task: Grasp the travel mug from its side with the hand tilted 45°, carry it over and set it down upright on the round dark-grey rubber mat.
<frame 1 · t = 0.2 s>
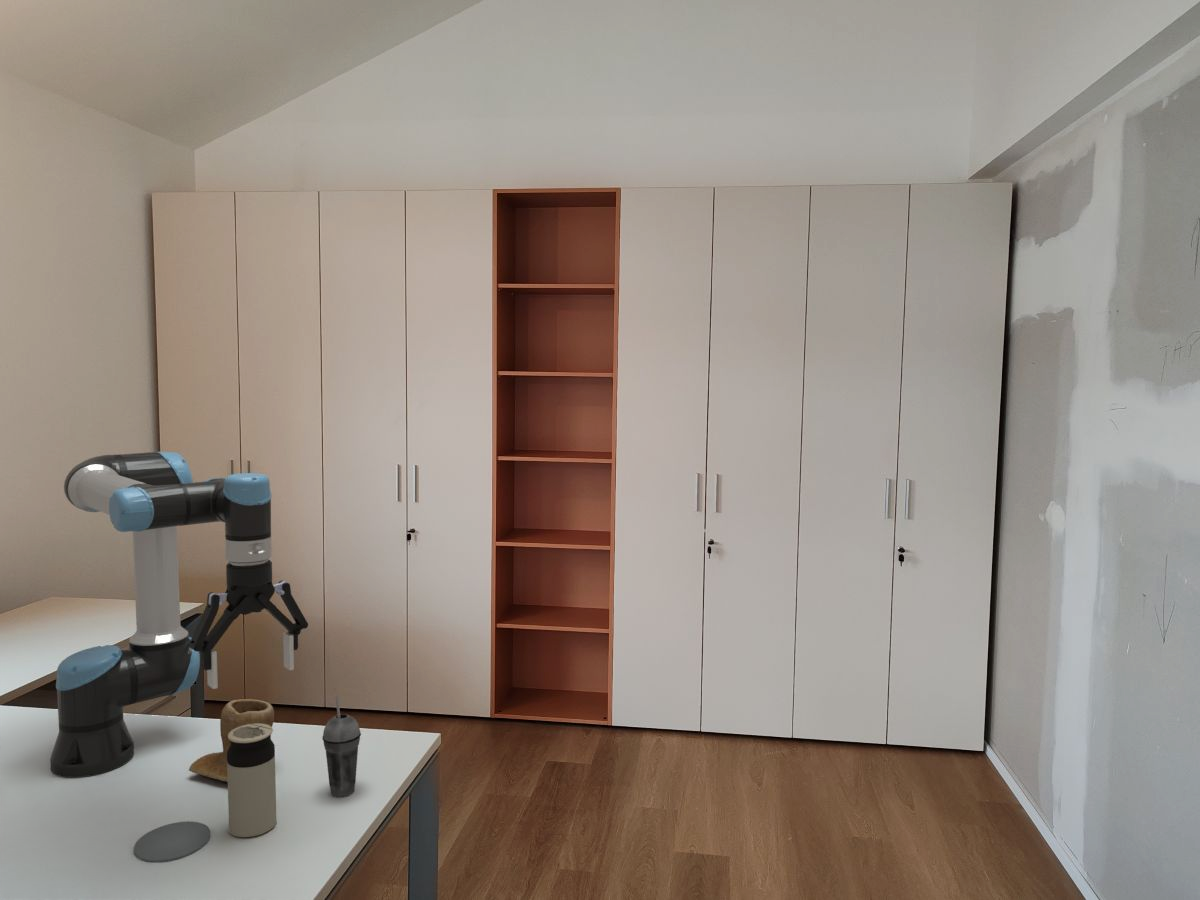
hand: (251, 677, 150), 28 cm above the table, tool pointing down, fingers open, 13 cm apart
beverage cup: (342, 792, 165), on the table
travel mug: (253, 827, 152), on the table
mat: (173, 842, 147), on the table
stone cup: (238, 774, 172), on the table
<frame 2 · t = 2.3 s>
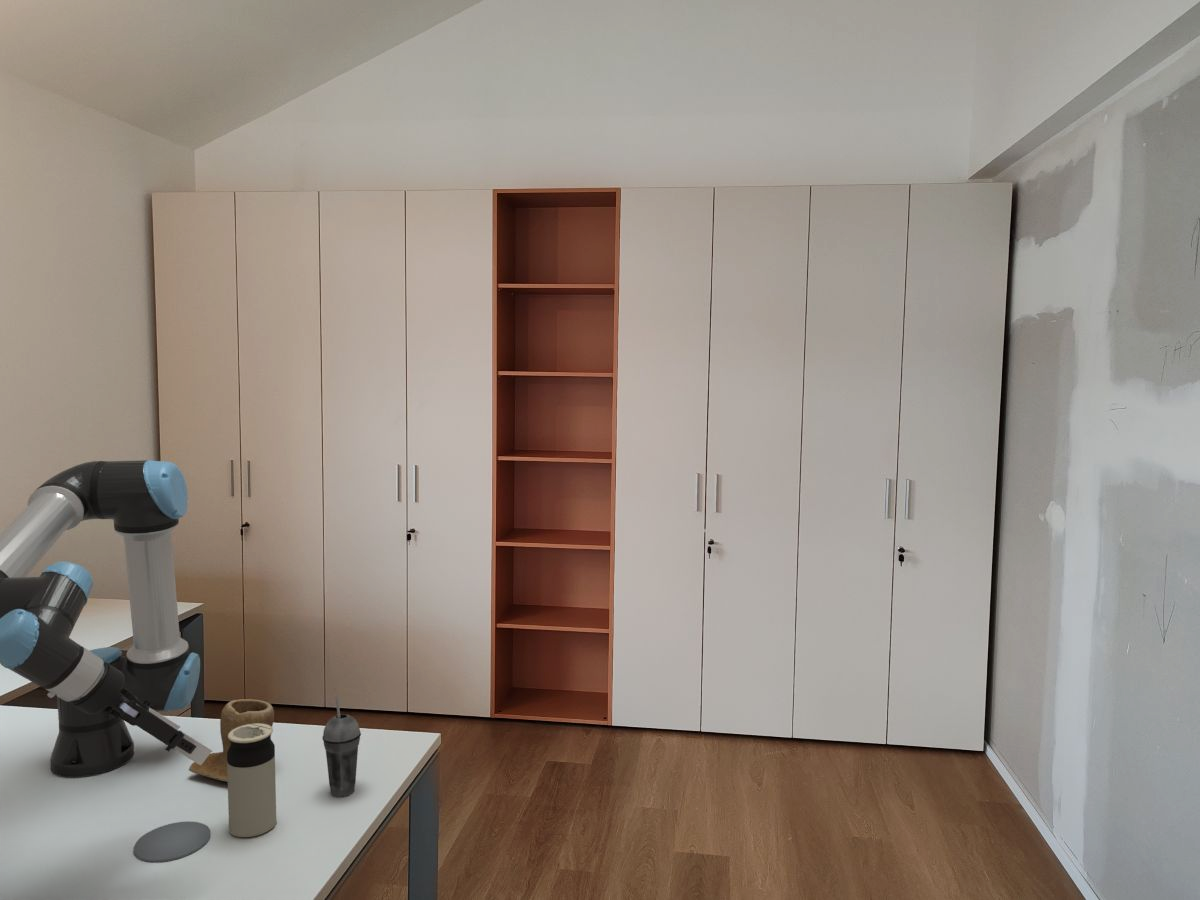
hand: (189, 744, 143), 19 cm above the table, tool tilted 45°, fingers open, 13 cm apart
nothing on the table moved.
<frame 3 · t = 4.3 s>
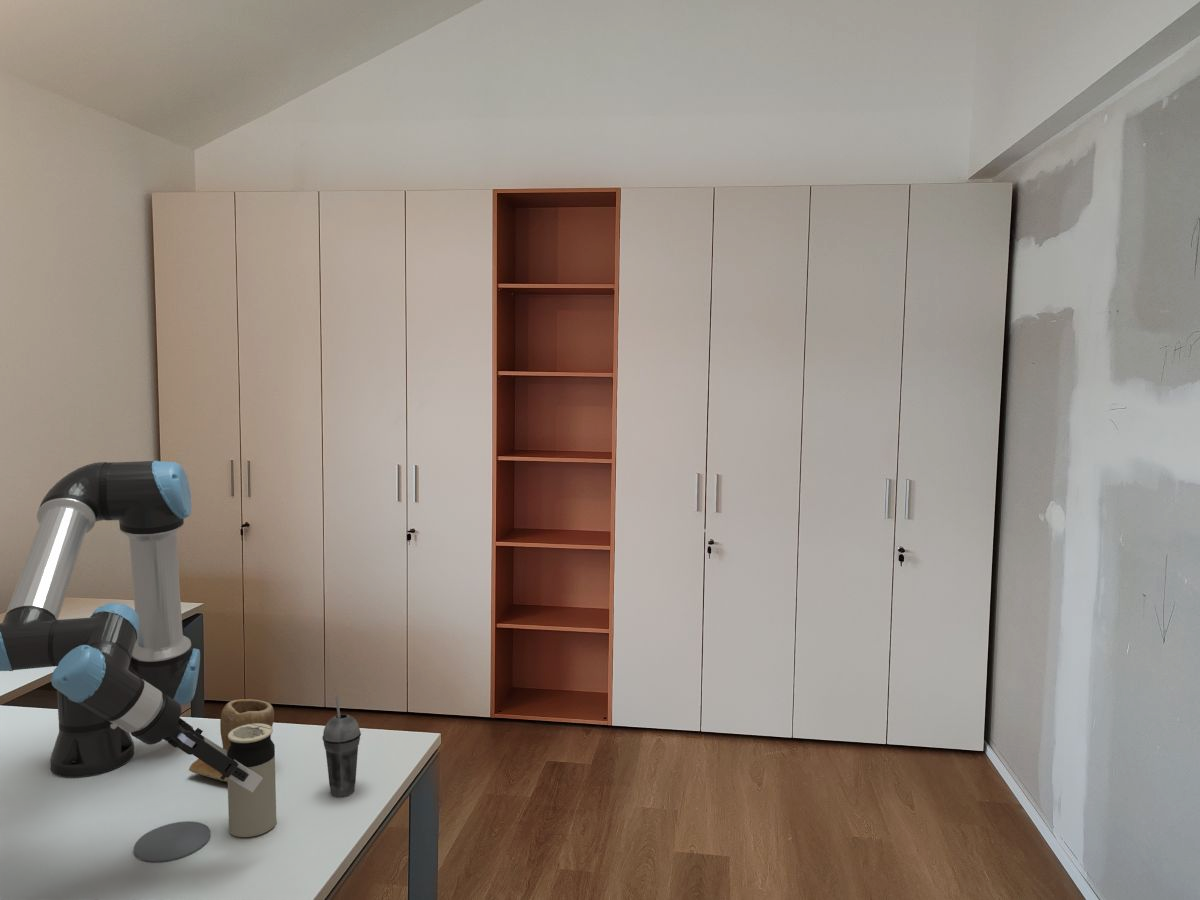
hand: (240, 771, 149), 12 cm above the table, tool tilted 45°, fingers open, 13 cm apart
nothing on the table moved.
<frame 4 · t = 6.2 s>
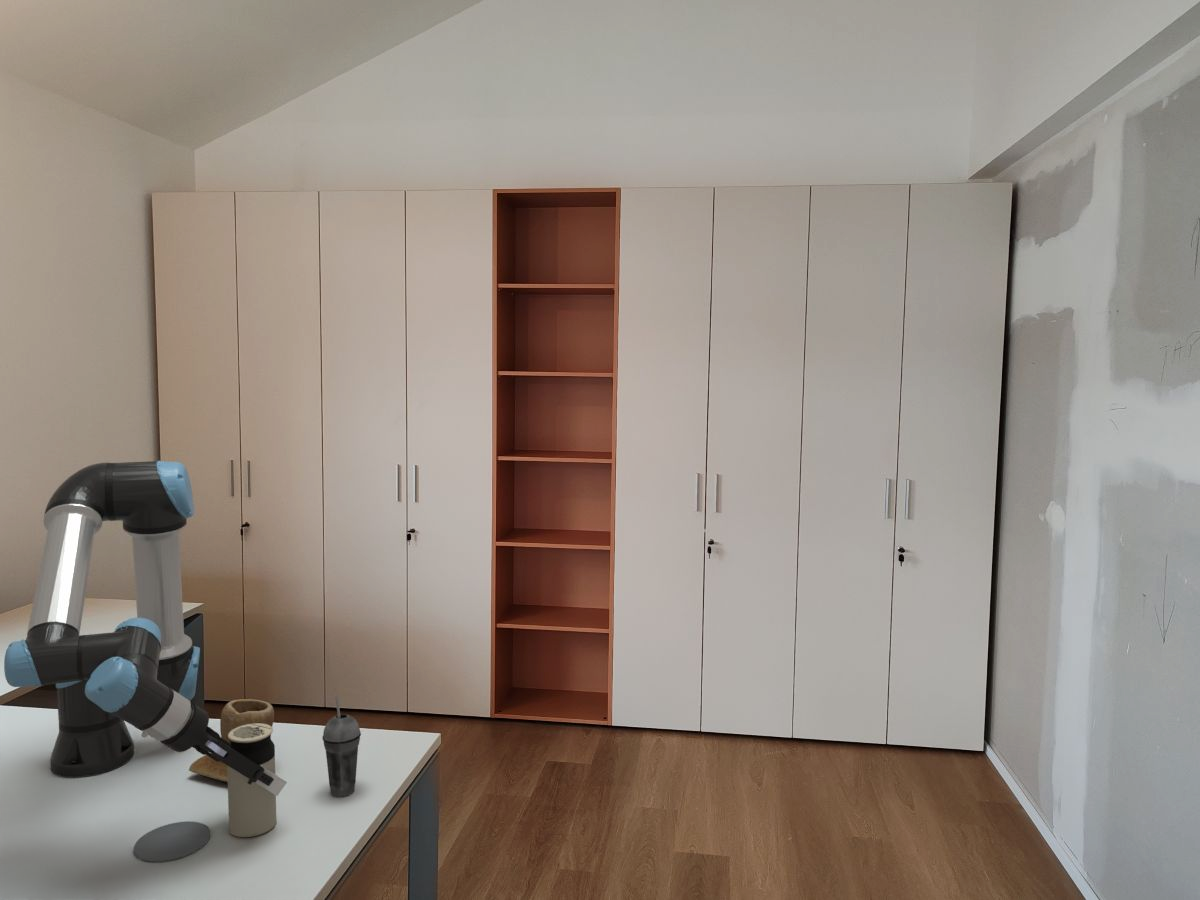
hand: (270, 780, 154), 8 cm above the table, tool tilted 45°, fingers closed on travel mug, 8 cm apart
travel mug: (253, 827, 152), on the table, touching gripper
everything else where it was.
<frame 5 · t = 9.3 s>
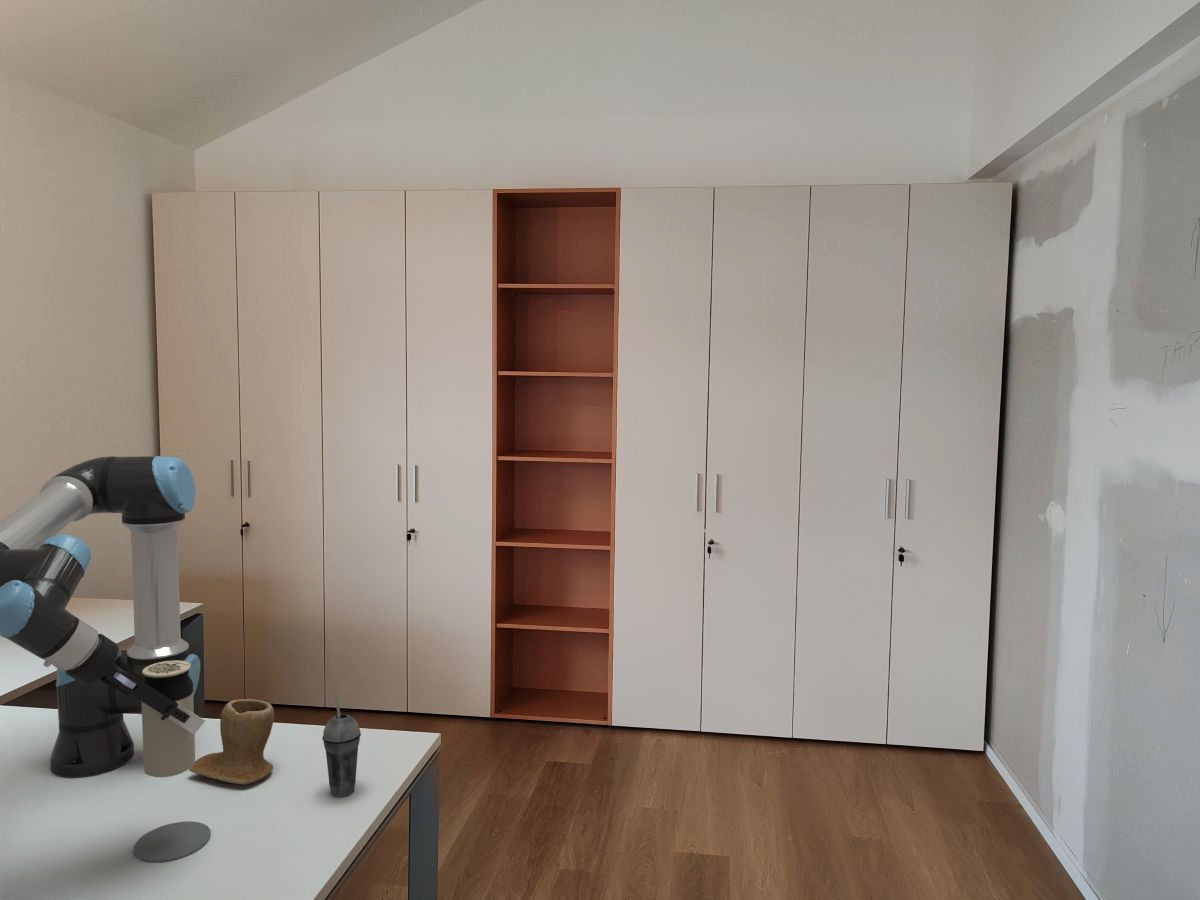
hand: (189, 719, 147), 21 cm above the table, tool tilted 45°, fingers closed on travel mug, 8 cm apart
travel mug: (170, 769, 145), point 13 cm above the table, touching gripper
everything else where it was.
when the fingers open (10 cm above the table, at t = 12.3 s): travel mug drops 1 cm, resting on mat.
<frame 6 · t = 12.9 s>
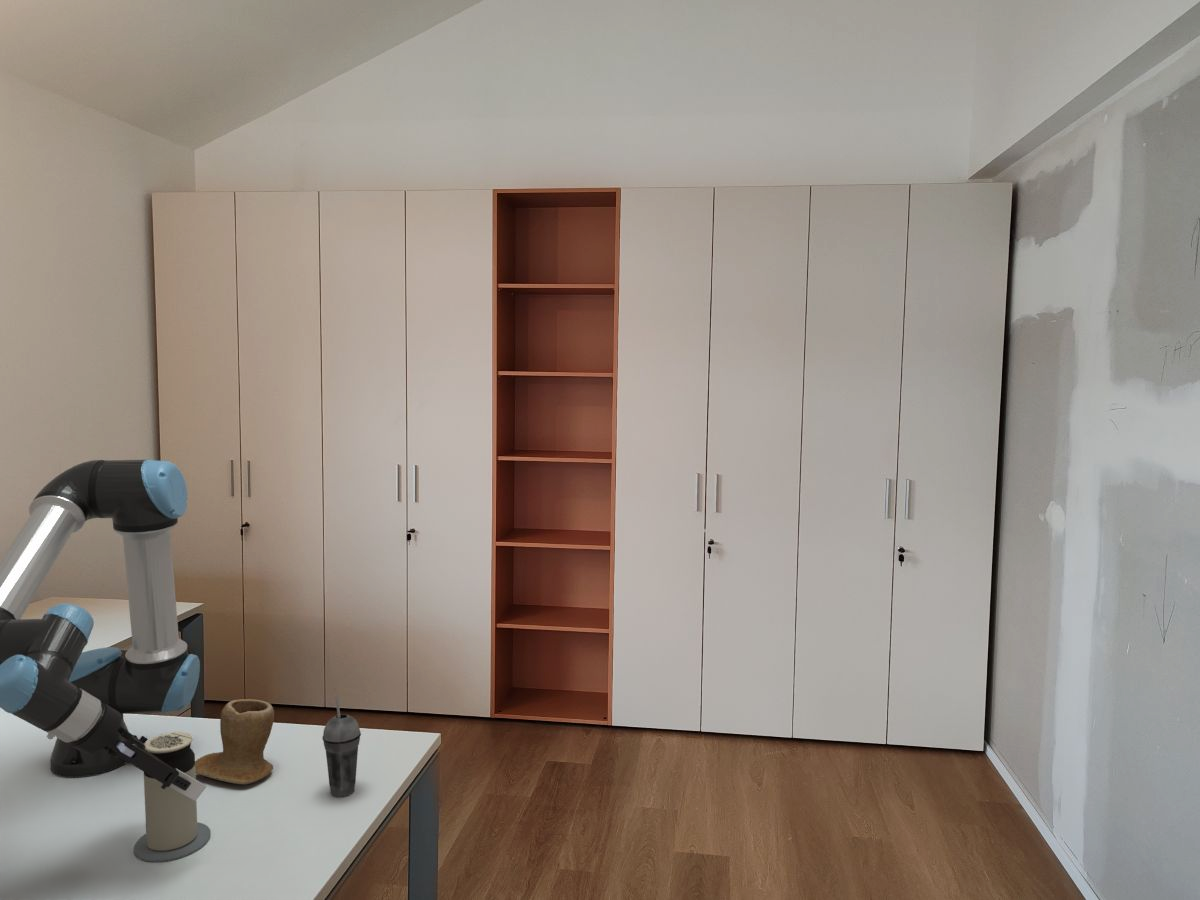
hand: (184, 779, 147), 11 cm above the table, tool tilted 45°, fingers open, 13 cm apart
travel mug: (172, 840, 147), resting on mat
everything else where it was.
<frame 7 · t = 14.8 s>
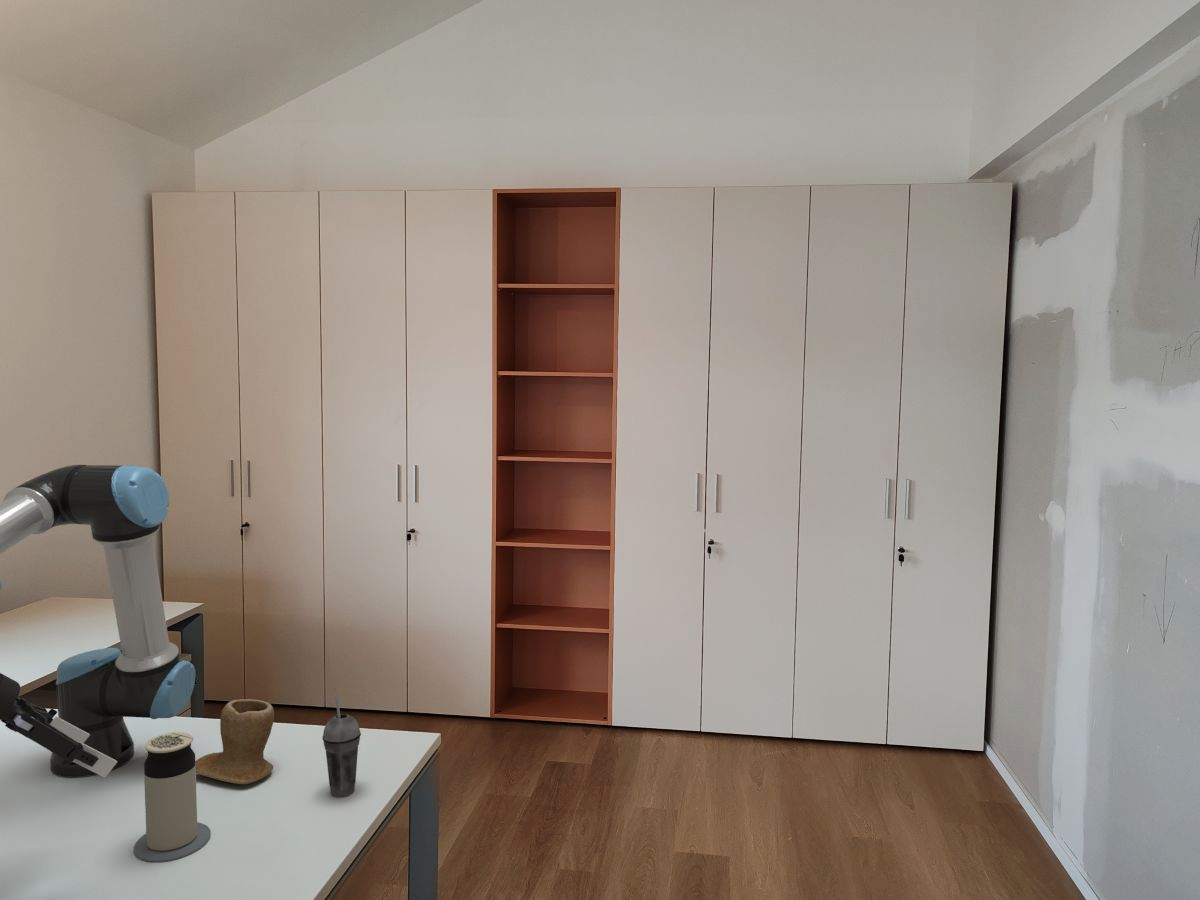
hand: (96, 754, 138), 19 cm above the table, tool tilted 45°, fingers open, 13 cm apart
nothing on the table moved.
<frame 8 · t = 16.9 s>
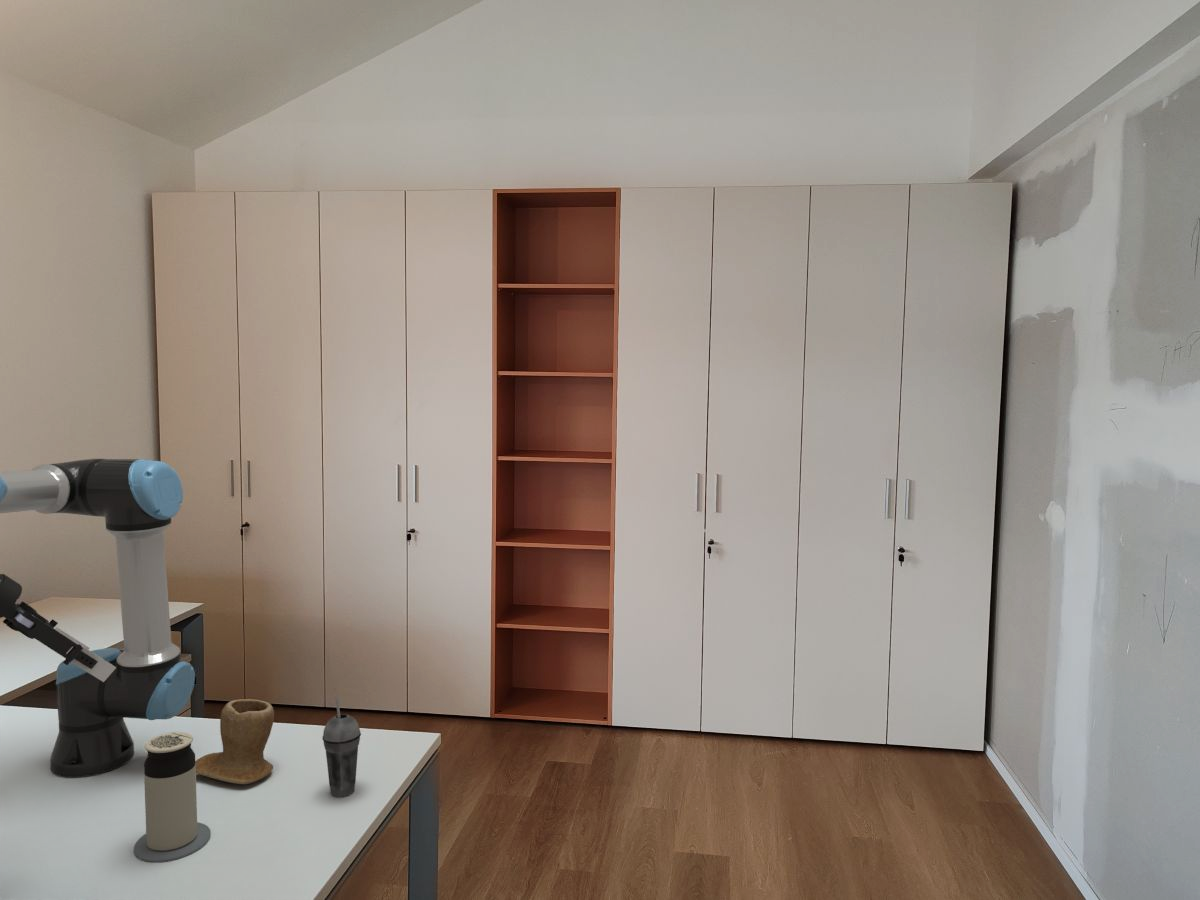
hand: (96, 664, 139), 34 cm above the table, tool tilted 45°, fingers open, 13 cm apart
nothing on the table moved.
at the end: travel mug 0.1 cm from the mat (horizontally); travel mug tilted 0°; the gripper is holding nothing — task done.
